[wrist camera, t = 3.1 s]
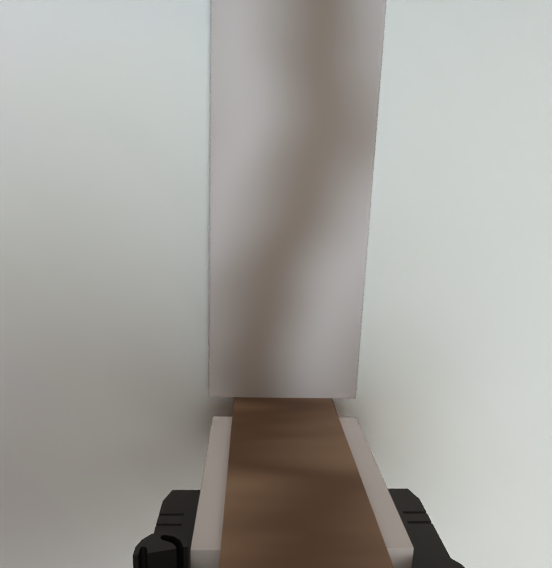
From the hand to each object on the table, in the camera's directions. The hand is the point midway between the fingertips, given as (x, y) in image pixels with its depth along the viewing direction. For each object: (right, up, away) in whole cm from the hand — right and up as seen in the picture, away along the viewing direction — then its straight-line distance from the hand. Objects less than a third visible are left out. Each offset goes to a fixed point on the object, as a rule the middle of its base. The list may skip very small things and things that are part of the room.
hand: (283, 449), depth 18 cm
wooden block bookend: (0, +9, 0) cm, 9 cm away
